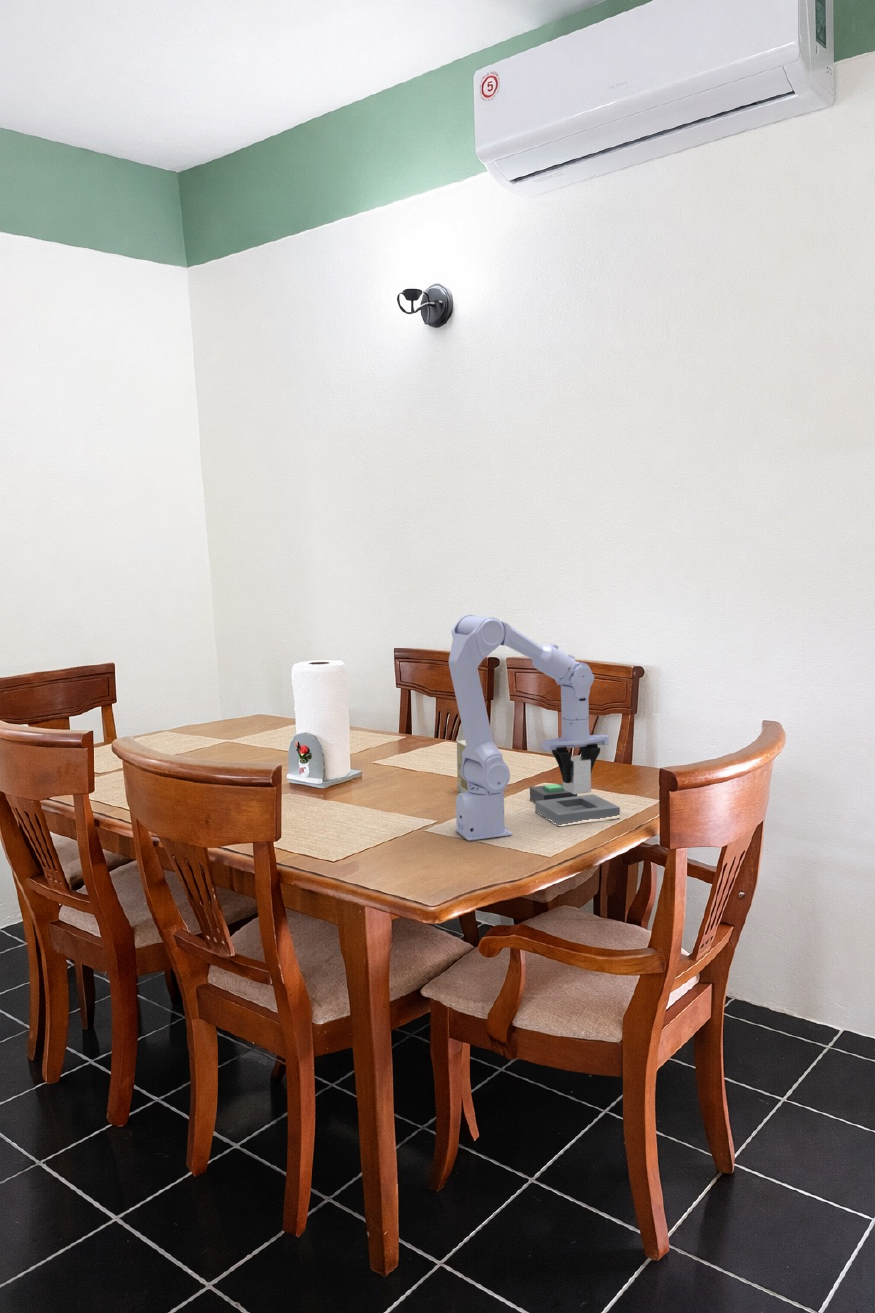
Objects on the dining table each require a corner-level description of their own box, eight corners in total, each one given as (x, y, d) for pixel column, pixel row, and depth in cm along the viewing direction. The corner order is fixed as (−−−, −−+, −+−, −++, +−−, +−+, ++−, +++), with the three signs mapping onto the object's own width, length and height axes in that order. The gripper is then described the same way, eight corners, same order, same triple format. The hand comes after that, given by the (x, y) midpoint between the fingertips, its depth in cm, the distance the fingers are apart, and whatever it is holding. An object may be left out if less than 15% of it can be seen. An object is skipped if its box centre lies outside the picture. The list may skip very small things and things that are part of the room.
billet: (574, 794, 208) (573, 761, 208) (563, 789, 213) (562, 757, 212) (590, 792, 210) (590, 759, 209) (579, 787, 215) (579, 755, 214)
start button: (549, 797, 222) (549, 788, 221) (543, 794, 225) (543, 785, 224) (562, 795, 222) (562, 787, 222) (556, 792, 226) (556, 784, 225)
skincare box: (457, 791, 237) (455, 740, 235) (473, 788, 238) (472, 738, 237) (467, 797, 231) (465, 745, 230) (484, 794, 232) (483, 743, 231)
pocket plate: (558, 826, 205) (558, 815, 204) (535, 812, 216) (535, 801, 216) (619, 818, 209) (619, 807, 208) (593, 805, 220) (593, 794, 220)
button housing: (544, 808, 219) (544, 795, 218) (530, 800, 226) (529, 787, 226) (577, 804, 221) (577, 791, 221) (562, 796, 229) (561, 783, 228)
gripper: (597, 712, 216) (598, 773, 217) (535, 717, 212) (537, 780, 213) (612, 717, 209) (613, 780, 211) (549, 723, 205) (551, 787, 206)
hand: (576, 781), depth 211 cm, fingers closed on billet, 4 cm apart
